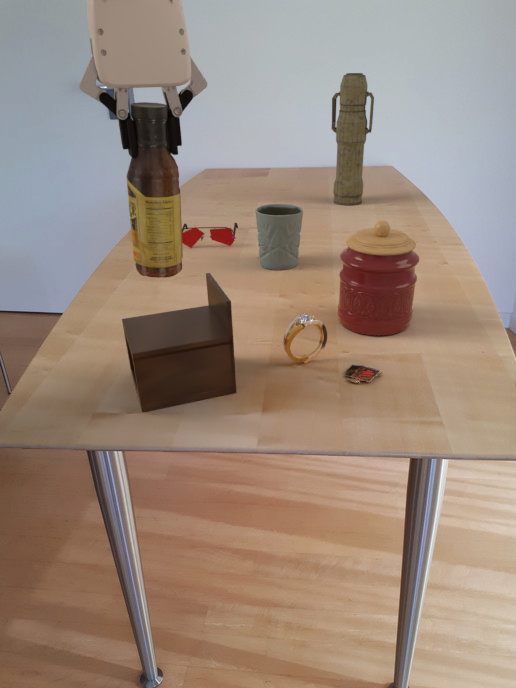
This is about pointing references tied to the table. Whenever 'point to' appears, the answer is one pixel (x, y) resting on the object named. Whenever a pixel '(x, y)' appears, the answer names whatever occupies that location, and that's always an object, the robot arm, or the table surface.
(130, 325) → the shelf
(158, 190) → the sauce bottle
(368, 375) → the matchbox
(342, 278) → the kitchen canister
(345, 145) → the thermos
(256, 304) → the table surface
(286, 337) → the ring
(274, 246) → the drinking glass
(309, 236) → the table surface
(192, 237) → the glasses
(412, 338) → the table surface
